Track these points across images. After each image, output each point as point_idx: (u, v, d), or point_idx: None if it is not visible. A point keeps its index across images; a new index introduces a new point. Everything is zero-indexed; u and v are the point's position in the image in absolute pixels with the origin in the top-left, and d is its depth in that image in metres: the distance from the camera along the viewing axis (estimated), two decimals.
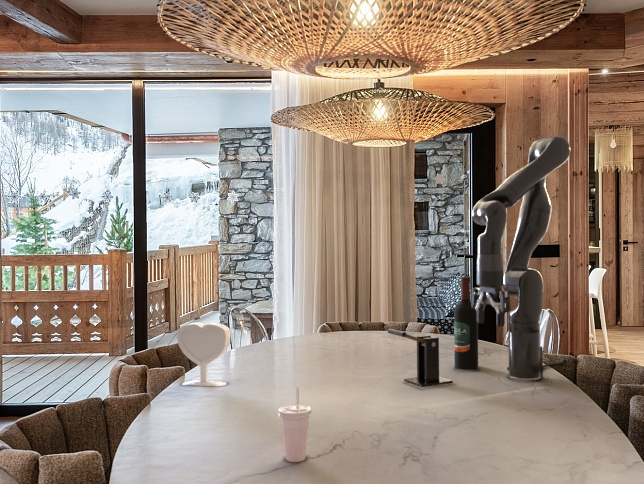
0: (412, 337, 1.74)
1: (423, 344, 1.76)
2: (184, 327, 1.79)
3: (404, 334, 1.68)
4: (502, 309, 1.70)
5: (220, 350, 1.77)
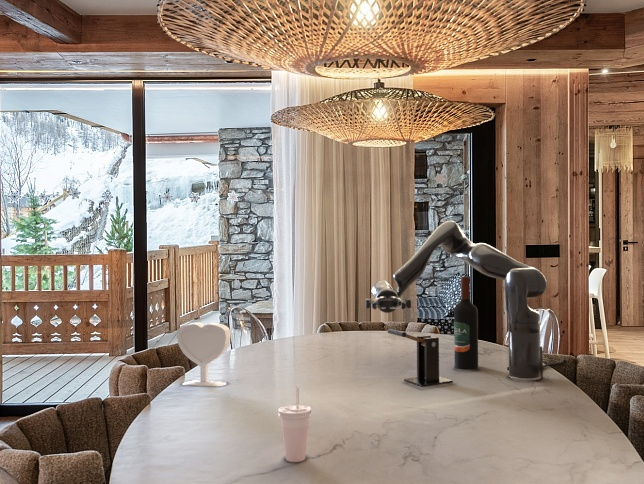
0: (412, 337, 1.74)
1: (423, 344, 1.76)
2: (184, 327, 1.79)
3: (404, 334, 1.68)
4: (409, 299, 1.89)
5: (220, 350, 1.77)
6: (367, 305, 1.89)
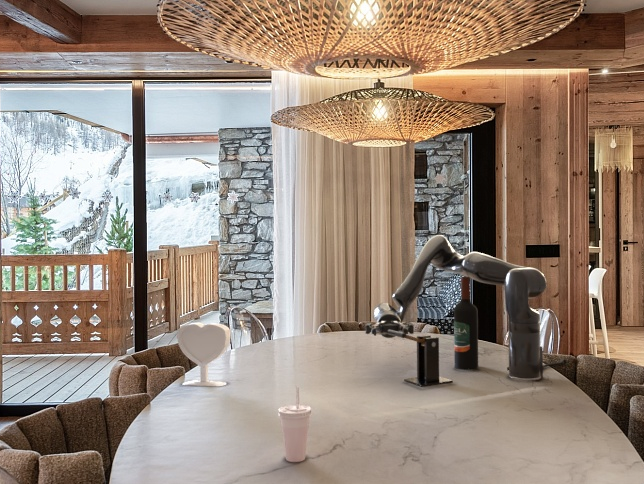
0: (412, 338, 1.74)
1: (423, 344, 1.76)
2: (184, 327, 1.79)
3: (404, 335, 1.68)
4: (412, 324, 1.79)
5: (220, 350, 1.77)
6: (367, 330, 1.79)
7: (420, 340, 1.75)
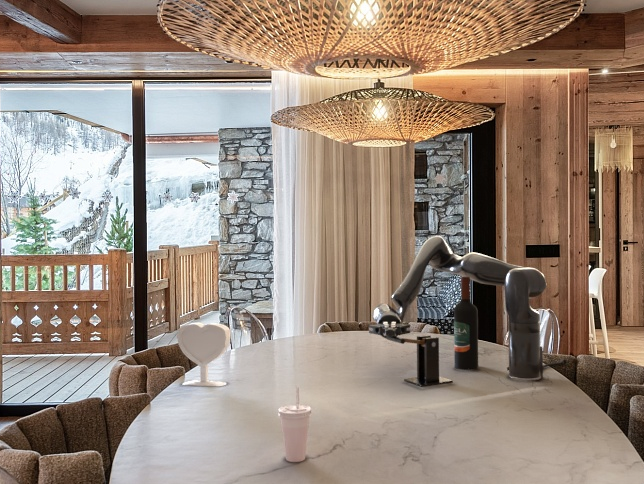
0: (411, 340, 1.74)
1: (423, 345, 1.76)
2: (184, 327, 1.79)
3: (402, 341, 1.68)
4: (399, 326, 1.76)
5: (220, 350, 1.77)
6: (382, 332, 1.75)
7: (420, 341, 1.75)
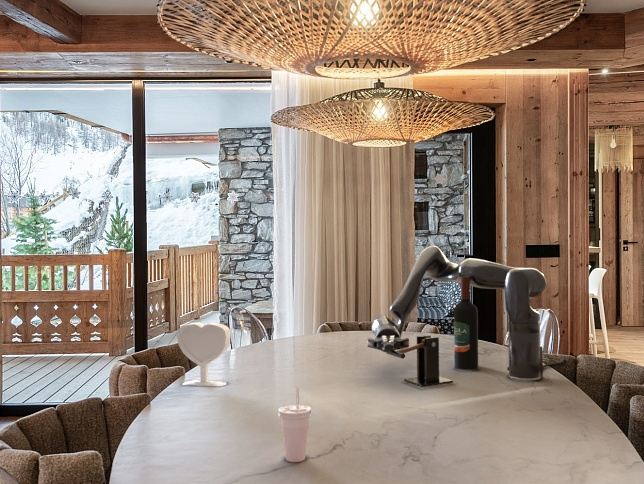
0: (411, 348, 1.74)
1: (424, 347, 1.76)
2: (184, 327, 1.79)
3: (403, 355, 1.68)
4: (398, 340, 1.76)
5: (220, 350, 1.77)
6: (380, 346, 1.75)
7: (420, 345, 1.75)
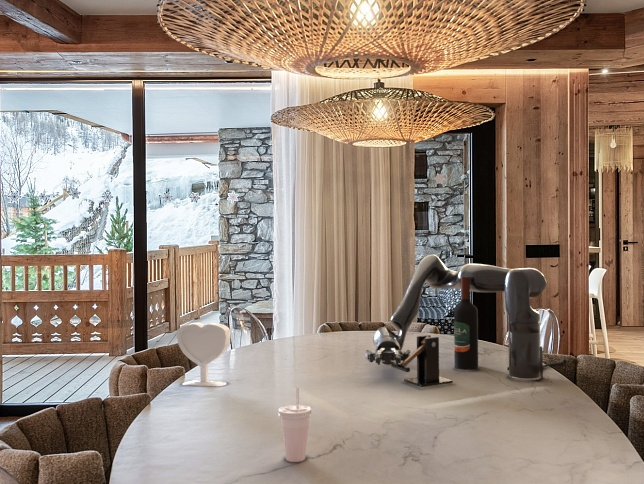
0: (414, 355, 1.74)
1: None
2: (184, 327, 1.79)
3: (408, 369, 1.69)
4: (405, 353, 1.76)
5: (220, 350, 1.77)
6: (371, 359, 1.76)
7: (421, 349, 1.75)
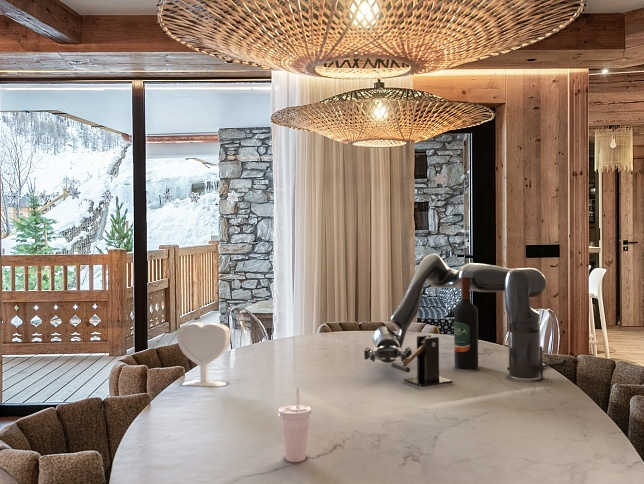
0: (414, 356, 1.74)
1: None
2: (184, 327, 1.79)
3: (408, 369, 1.69)
4: (410, 350, 1.79)
5: (220, 350, 1.77)
6: (366, 356, 1.78)
7: (421, 349, 1.75)
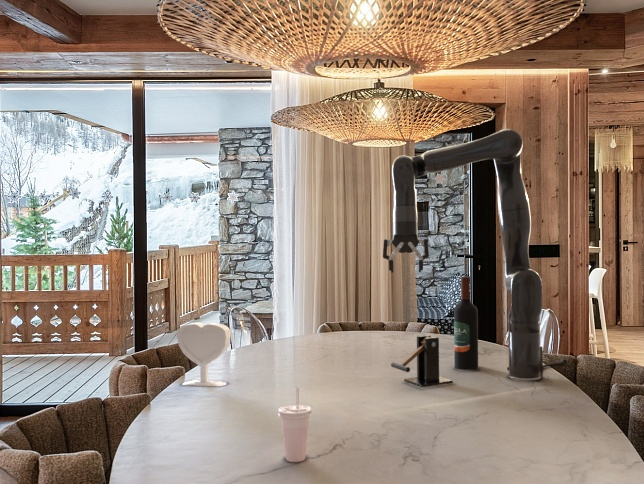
0: (414, 355, 1.74)
1: None
2: (184, 327, 1.79)
3: (407, 369, 1.69)
4: (427, 255, 1.87)
5: (220, 350, 1.77)
6: None
7: (421, 349, 1.75)
